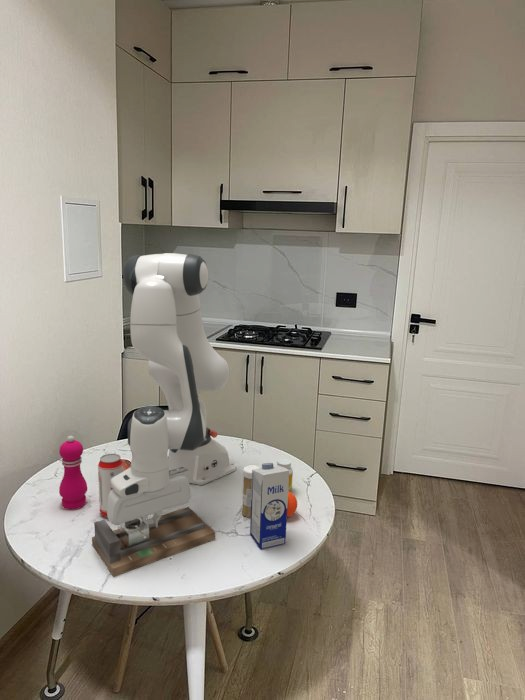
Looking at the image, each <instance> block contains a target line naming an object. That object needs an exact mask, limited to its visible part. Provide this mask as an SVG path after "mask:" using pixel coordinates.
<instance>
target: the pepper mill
mask: <svg viewBox="0 0 525 700" xmlns="http://www.w3.org/2000/svg"><path fill="white" fill-rule="evenodd" d="M83 453H84V447H83V444H82V442H80V441H78V440H75V437H74V436H73V435H68V436H67V438H66V441H64V442H63V443H61V445H60V447H59V453H58V454H59V455H60V458H62V459H61V464H62V466H63V469H64V470H63V471H64V472H63V476H62V479H61V481H60V484H59V489H58V490H59V491H58V493H59V495H60V497H61V507H62V508H63V509H65V510H77V509H80V508H82V507H84V506H85V505H86V503H87V496H86V493H87V492H88V483H87V480H86V479H85V477H84V476H83V473H82V469H81V464H82V461H83V460H82V458H83V457H82V455H83Z"/></svg>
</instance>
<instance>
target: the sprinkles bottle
mask: <svg viewBox="0 0 525 700" xmlns="http://www.w3.org/2000/svg"><path fill="white" fill-rule="evenodd" d="M259 468H260V467H259V466H258V465H255V464H254V465H252V464H250V465H246V466H244V467H243V469H242V476H243V481H242V482H243V484H242V485H243V486H242V510H241V515H243V516H244V517H245V518H251V493H252V469H259Z"/></svg>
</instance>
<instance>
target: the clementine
mask: <svg viewBox="0 0 525 700" xmlns="http://www.w3.org/2000/svg"><path fill="white" fill-rule="evenodd" d="M297 508H298V500H297V497H296V496H295V494H294V493H292V491H291V492H289V491H288V504H287V518H290V517H291V516H293V515H294V514H295V513H296V511H297Z"/></svg>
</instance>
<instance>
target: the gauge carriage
mask: <svg viewBox="0 0 525 700" xmlns="http://www.w3.org/2000/svg"><path fill="white" fill-rule="evenodd" d="M118 526H119V528H118V529H119V530H120V539H121V540H122V541H123V543H124V544H125V545H126V547H127V548H129V547H132V546H135V545H138V544H141V543H144V542H147V541H149V527H148V526H147V525H146V524H145V523H144V522H143V521H142V519H141V518H138V519H134V520H131V521H128V522H125V523H122V524H119V525H118Z"/></svg>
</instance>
